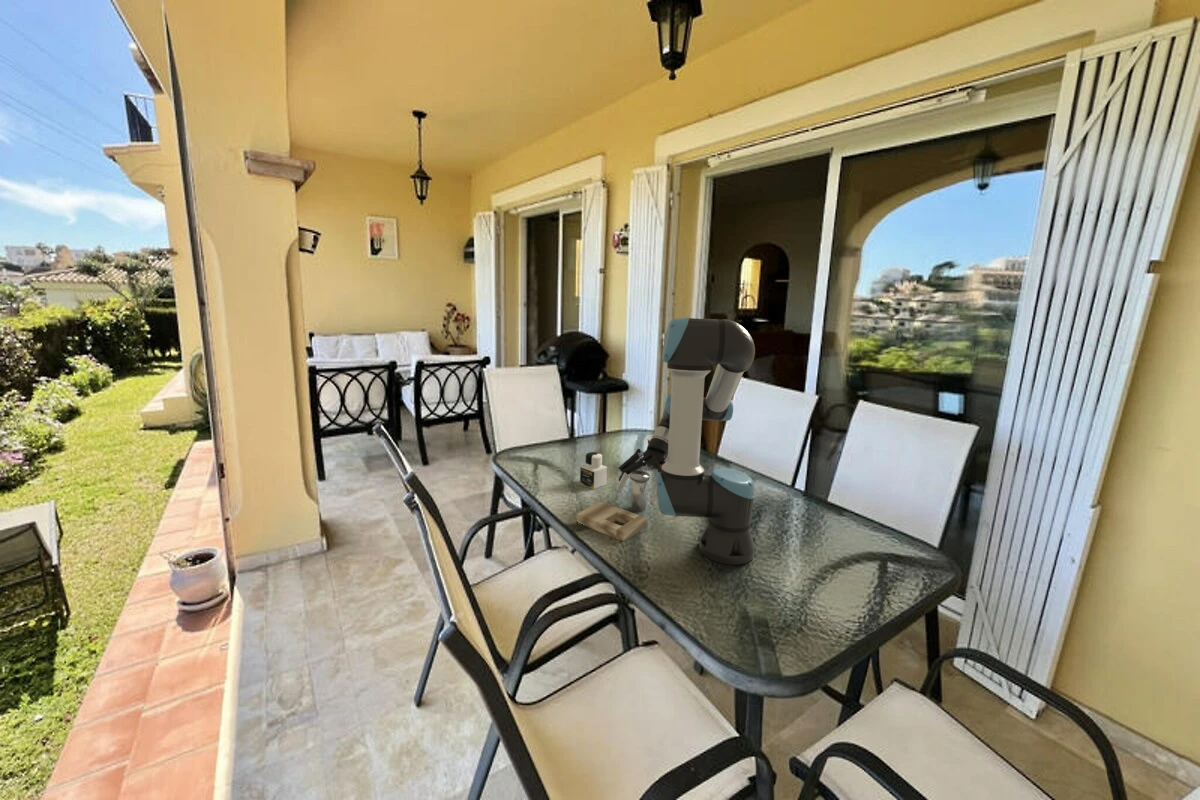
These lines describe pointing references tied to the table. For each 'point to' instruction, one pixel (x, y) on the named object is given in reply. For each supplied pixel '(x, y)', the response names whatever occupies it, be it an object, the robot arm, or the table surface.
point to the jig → (611, 520)
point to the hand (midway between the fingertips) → (634, 497)
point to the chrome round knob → (639, 490)
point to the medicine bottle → (593, 471)
